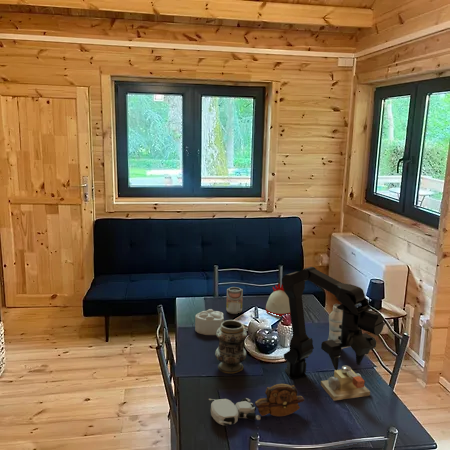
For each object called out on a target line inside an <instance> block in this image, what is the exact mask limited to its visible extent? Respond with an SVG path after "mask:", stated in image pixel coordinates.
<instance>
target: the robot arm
mask: <svg viewBox="0 0 450 450" xmlns="http://www.w3.org/2000/svg"><path fill="white" fill-rule="evenodd" d="M307 281H309V282H311V283H313V284H315V286H318V287H320V288H322V289H324V290H325V291H327V292H328V293H330V294H332V295H334V296H335V298H336V300H337V301H338V302H339V303H340V305H339V306H337V308H338V309H340V310H342V313H343V314H342V324H341V325H339V328H340V329H341V336H338V339H339V340H340V341H341V342H339V343H336V342H335V341H333V340H328V339H327V340H323V341H322V342H321V347H320V349H321V350H322V351H324V352H325V353H326V354H327V355H328V356H329V358H330V361H331V363H332V365H333V369H334V370H339V360H340V357H342V354H341V353H342V350H343V349H346V348H352V350H353V351H354V352H355V360H356V361H355V362H356V364H357V366H360V365H361V363H362V361H363V360H364V357H365V355H369V353H370V351H371V350H374V349H375V348H376V346H377V340H376V338H375V337H373V336H372V335H370V334H373V335H374V336H379V335H380V334H381V333H382V331H383V330H384V326H385V322H384V318H383V317H382V313H381V312H380V313H379V312H377V311H376V312H375V311H372V310H371V309H372V308H371V306H370V303H369V301H368V299H367V298H366V296H365V292H364V289H363V288H361V286H360V287H359V286H357V285H354V284H351V283H350V284H349V283H344V282H341V281H338V280H337V279H335V278H333V277H332V276H330V275H328V274H327V273H324V272H321V271H320V270H318V269H317V268H316V267H314V266H308V267H305V268H303V269H301V270H300V271H293V272H291V273H288V274H287V273H286V274H284V275H283V277H282V278H281V285H283V289H284V292H285V293H286V295H287V296H288V298H289V306H290V315H289V316H290V322H291V332H292V336H291V339H290V341H289V351H287V352H286V353H283V359H284V361H286V368H285V369H284V371H285V373H286V374H287V376H288V377H289V379H291V380H293V379H298V378H299V379H300V378H306V377H307V374H306V372H307V362H306V359H308V358H309V356H310V355H311V354H312V353H313V350H314V349H315V347H314V345H313V344H314V343H313V342H314V340H313V338H309V336H308V334H307V331H306V321H305V313H304V304H303V303H304V302H303V294H304V291H305V288H306V282H307ZM358 305H359V306H358ZM363 331H365V332H364V333H363ZM368 333H370V334H368ZM342 348H343V349H342Z"/></svg>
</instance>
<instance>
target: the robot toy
mask: <svg viewBox="0 0 450 450" xmlns="http://www.w3.org/2000/svg"><path fill="white" fill-rule="evenodd" d="M208 400H209V401H212V402H211V404H210V416H211V417H212V418H213V420H214V421H215V422H216V423H217V424H219V425H222V426H228V425H229V426H230V425H235V424H236V423H237V422H238V419H248V420H249V421H256V420H257V421H260V420H261V415H259V414H256V410H257V407H256V405H255V404H254V403H253V402H251V399H250V398H247V397H243V398H242V399H240V401H238V402H235V403H234V402H232V400H230V399H228V398H221V399H214V398H208Z"/></svg>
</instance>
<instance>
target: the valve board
mask: <svg viewBox="0 0 450 450" xmlns="http://www.w3.org/2000/svg"><path fill="white" fill-rule="evenodd" d="M351 371H352V372H353V373H354V374H355V375H356V376H360V377H361V378H362V379H363V377H362V375H361V374H360V373H359V372H358V373H356V372H355V371H354V370H353V369H352V368H351ZM352 383H353V380H352V379H351V378H350V377H349V376H348V375H347V374H344V373H342V368H340V369H338V370H335V369H334V371H333V376H330V377H328V379H326V380H320V386H321V387H322V389H323V390H324V391H325V392H326V393H327V394H328V395H329V397H330V398H331V399H332V400H333V401H341V400H347V399H355V398H361V397H362V398H363V397H368V396H371V390H369V388H367V387H366V386H365V385H364V387H363V388H356V387H355V386H354V385H353V384H352Z"/></svg>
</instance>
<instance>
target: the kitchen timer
mask: <svg viewBox="0 0 450 450" xmlns="http://www.w3.org/2000/svg"><path fill="white" fill-rule="evenodd" d="M272 290H273V292H272V293H271V294H270V295H269V296H268V299H267V301H266V305H265V312H266V311H267V312H270V313H273V314H276V315H279V316H282V315H284V314H287V313H288V314H290V306H289V298H288V296H287V295H286V293H285V292H284V289H283V285H282V284H280V283H278V285H275V287H274V286H272ZM267 312H266V313H267Z"/></svg>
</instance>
